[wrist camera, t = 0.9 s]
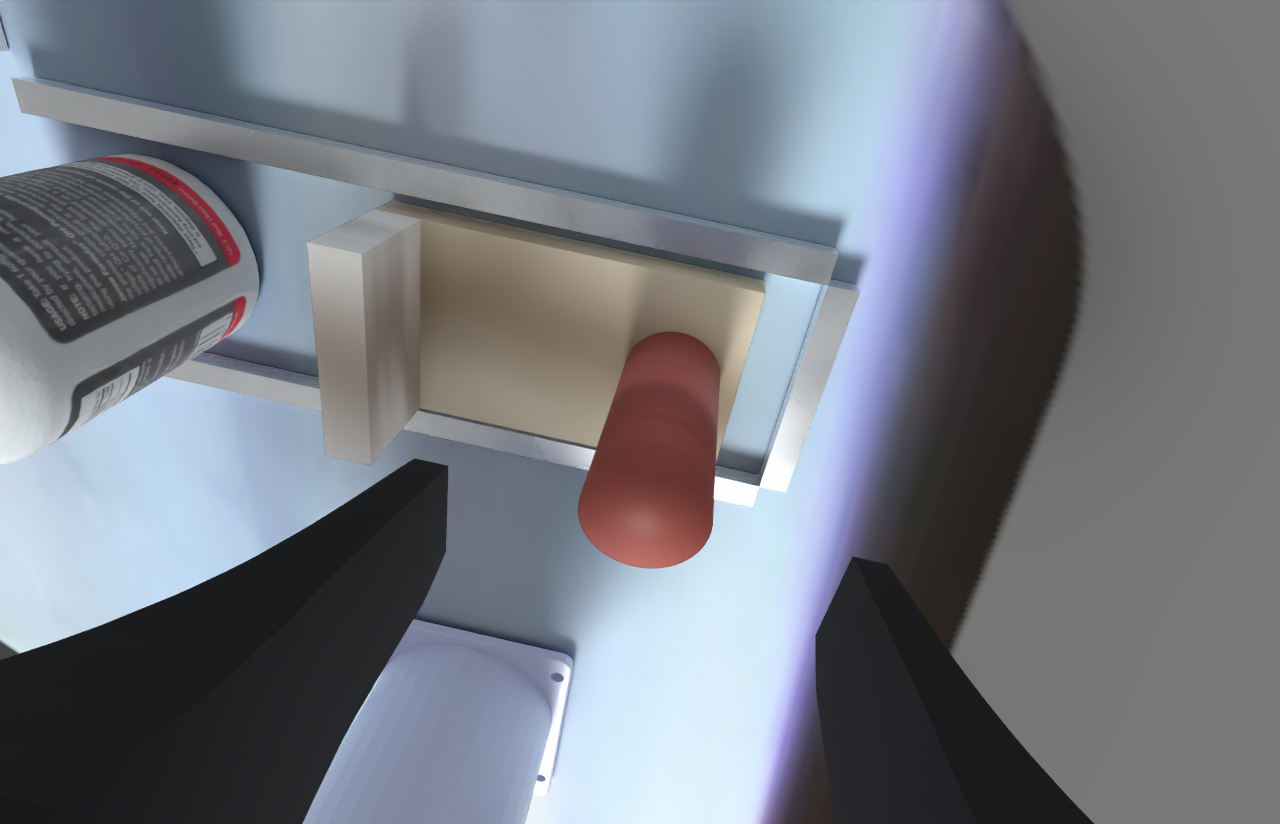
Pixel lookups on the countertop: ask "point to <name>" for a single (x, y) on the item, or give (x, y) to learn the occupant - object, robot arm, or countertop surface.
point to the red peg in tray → (538, 358)
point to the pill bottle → (108, 288)
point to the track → (496, 199)
